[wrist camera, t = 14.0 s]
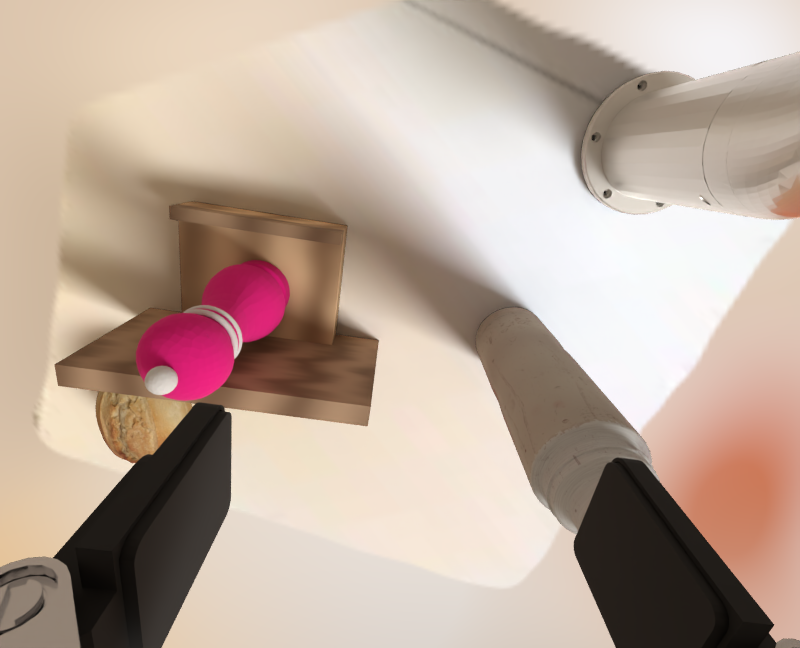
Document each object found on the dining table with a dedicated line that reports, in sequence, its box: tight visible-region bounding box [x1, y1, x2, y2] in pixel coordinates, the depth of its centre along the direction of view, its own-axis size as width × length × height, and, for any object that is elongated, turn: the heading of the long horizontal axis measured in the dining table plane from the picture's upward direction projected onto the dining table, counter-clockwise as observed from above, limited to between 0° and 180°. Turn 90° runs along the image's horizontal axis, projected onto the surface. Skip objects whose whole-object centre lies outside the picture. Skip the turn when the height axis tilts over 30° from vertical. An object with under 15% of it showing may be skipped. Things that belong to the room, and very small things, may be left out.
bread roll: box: [96, 391, 192, 463], centre depth 48 cm, size 10×15×8 cm, turn 7°
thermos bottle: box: [476, 307, 660, 534], centre depth 35 cm, size 8×8×28 cm
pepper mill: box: [136, 260, 290, 401], centre depth 34 cm, size 7×7×20 cm
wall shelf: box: [55, 201, 379, 426], centre depth 39 cm, size 26×14×14 cm, turn 81°
